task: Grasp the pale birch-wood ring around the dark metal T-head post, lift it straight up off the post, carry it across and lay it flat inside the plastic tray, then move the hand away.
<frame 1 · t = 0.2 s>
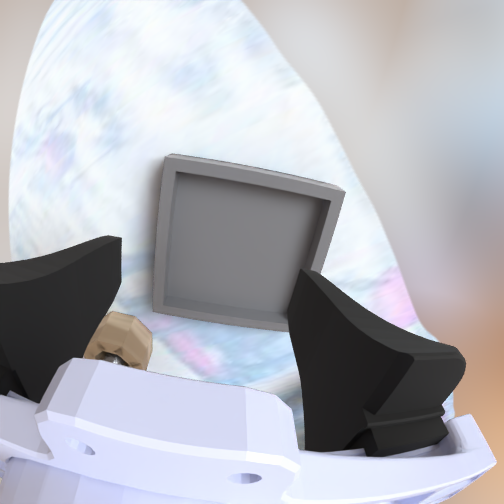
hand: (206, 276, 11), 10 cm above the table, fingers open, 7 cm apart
tray: (240, 245, 22), on the table
ring: (125, 336, 25), on the table
stake: (125, 336, 25), on the table
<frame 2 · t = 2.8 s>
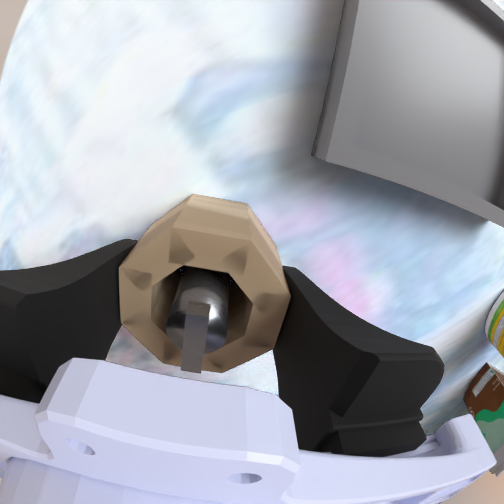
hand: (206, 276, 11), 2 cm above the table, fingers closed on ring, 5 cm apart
tray: (448, 80, 10), on the table
ring: (209, 258, 13), on the table, touching gripper
food container: (478, 390, 21), on the table
stake: (209, 258, 13), on the table
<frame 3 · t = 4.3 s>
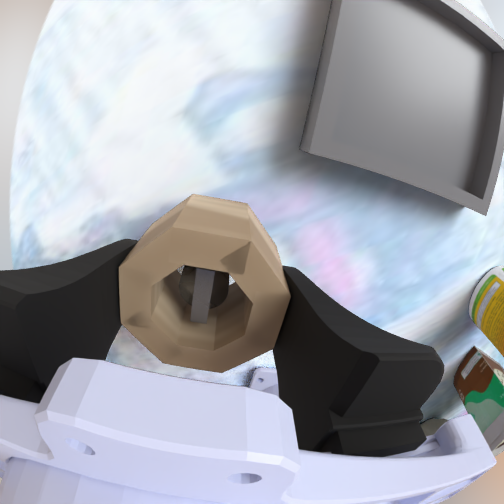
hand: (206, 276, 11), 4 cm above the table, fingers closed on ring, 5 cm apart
tray: (421, 82, 12), on the table
ring: (209, 258, 13), point 2 cm above the table, touching gripper
food container: (468, 375, 23), on the table
supplement bottle: (487, 291, 18), on the table
stake: (213, 237, 15), on the table
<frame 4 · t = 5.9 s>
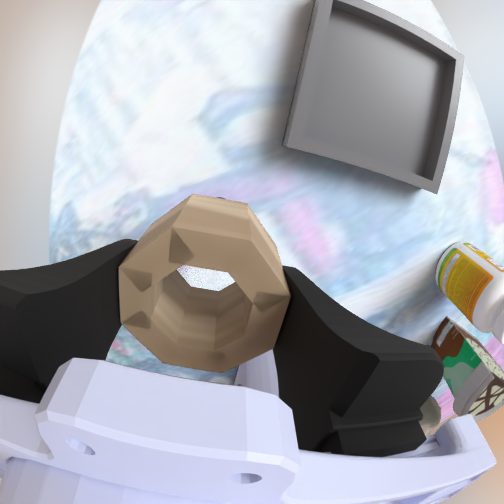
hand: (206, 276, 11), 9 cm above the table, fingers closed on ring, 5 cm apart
tray: (379, 90, 17), on the table
ring: (209, 258, 13), point 8 cm above the table, touching gripper
food container: (446, 346, 28), on the table
supplement bottle: (453, 265, 23), on the table
ceramic sculpture: (395, 413, 33), on the table
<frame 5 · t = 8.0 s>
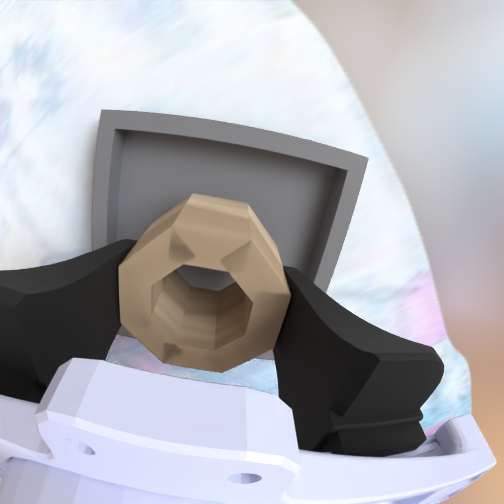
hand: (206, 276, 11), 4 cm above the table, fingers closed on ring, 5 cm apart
tray: (213, 239, 15), on the table
ring: (209, 257, 13), point 2 cm above the table, touching gripper
when the fingers open (3 cm above the table, at t = 9.4 s): ring drops 1 cm, resting on tray.
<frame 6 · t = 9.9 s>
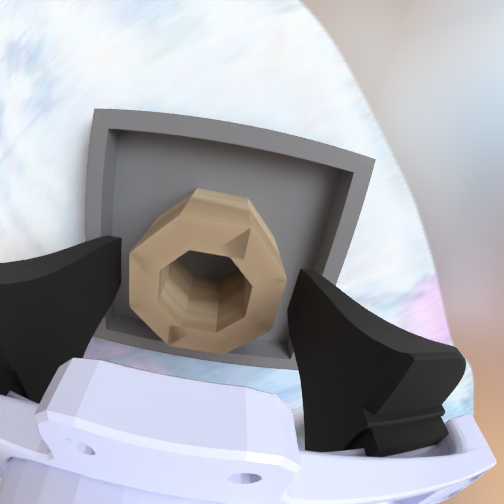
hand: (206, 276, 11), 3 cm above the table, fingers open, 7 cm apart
tray: (212, 244, 14), on the table
ring: (212, 248, 14), point 1 cm above the table, touching tray
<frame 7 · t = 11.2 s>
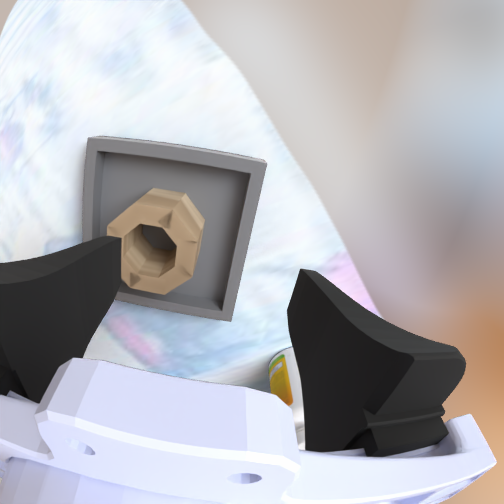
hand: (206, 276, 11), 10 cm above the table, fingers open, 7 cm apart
tray: (166, 225, 20), on the table
ring: (164, 228, 20), point 1 cm above the table, touching tray
supplement bottle: (295, 363, 27), on the table
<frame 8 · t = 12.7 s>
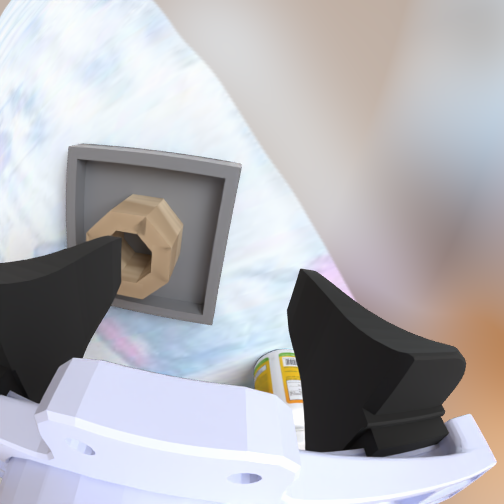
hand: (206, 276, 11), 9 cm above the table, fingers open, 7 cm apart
tray: (146, 230, 20), on the table
ring: (144, 233, 20), point 1 cm above the table, touching tray
supplement bottle: (281, 365, 27), on the table
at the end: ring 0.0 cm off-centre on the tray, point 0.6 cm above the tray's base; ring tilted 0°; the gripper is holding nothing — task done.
